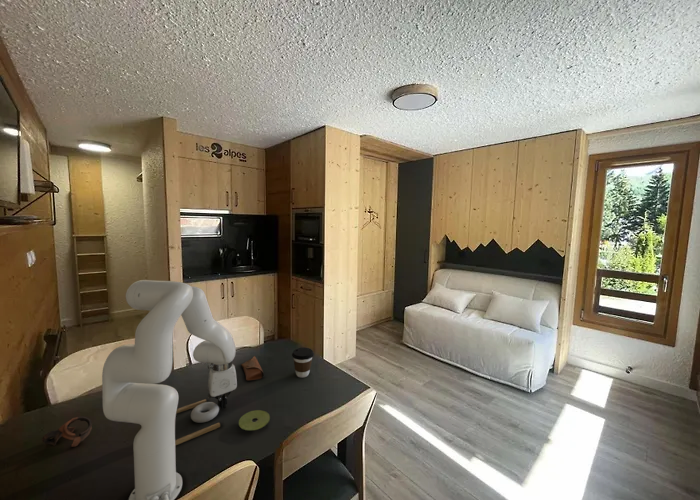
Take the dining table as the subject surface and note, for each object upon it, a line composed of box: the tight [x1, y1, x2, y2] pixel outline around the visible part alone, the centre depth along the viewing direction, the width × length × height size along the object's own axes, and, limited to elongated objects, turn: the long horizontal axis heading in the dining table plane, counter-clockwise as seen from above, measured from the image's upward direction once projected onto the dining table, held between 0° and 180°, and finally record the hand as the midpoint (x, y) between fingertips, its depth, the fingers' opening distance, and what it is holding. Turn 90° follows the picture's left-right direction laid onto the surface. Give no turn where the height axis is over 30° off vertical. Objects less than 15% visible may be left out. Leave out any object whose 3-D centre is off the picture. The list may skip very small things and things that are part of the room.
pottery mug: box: [41, 416, 93, 448], centre depth 98 cm, size 12×10×8 cm
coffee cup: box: [291, 347, 315, 378], centre depth 146 cm, size 11×11×12 cm
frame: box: [175, 398, 221, 447], centre depth 109 cm, size 19×17×1 cm
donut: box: [190, 401, 220, 424], centre depth 113 cm, size 10×3×10 cm
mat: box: [238, 409, 271, 431], centre depth 110 cm, size 11×11×2 cm
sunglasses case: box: [240, 355, 265, 381], centre depth 148 cm, size 18×7×7 cm
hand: (222, 406), depth 118 cm, fingers closed
